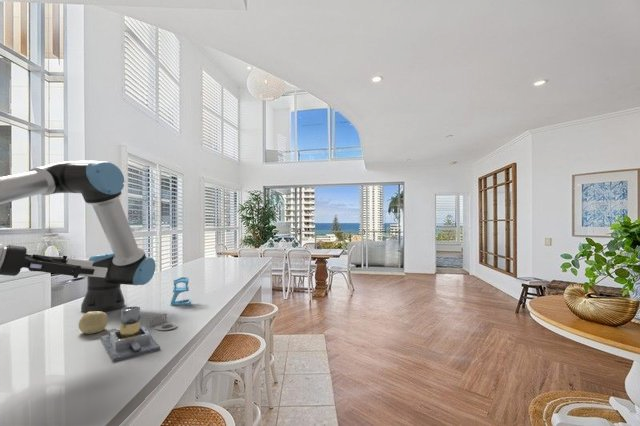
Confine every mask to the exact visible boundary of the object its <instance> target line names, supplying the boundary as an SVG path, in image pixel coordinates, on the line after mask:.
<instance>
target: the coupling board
mask: <svg viewBox="0 0 640 426" xmlns="http://www.w3.org/2000/svg"><path fill="white" fill-rule="evenodd" d="M100 340H101V342H102V345H103V346H104V348H105V351H106V352H107V355H108V356H109V358H110V360H111V362H112V363H115V362H119V361H123V360H126V359H131V358H134V357H137V356H141V355H145V354H149V353H154V352H157V351H161V345H159V343H158V342H157V341H156V340H155V339H154V338H153V337H152V336H151V333H150V332H149V331H148V330H147V329H146V328H145V326H143V325H139V335H138V336H133V337H128V338H124V339H120V329H117V328H112V329H109V330H108V334H106V335H101V336H100Z"/></svg>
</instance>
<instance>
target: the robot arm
mask: <svg viewBox="0 0 640 426" xmlns="http://www.w3.org/2000/svg"><path fill="white" fill-rule="evenodd" d="M124 183H125V177H124V173H123V172H122V171H121V169H120V168H119V167H118V166H117V165H116V164H114V163H112V162H110V161H105V160H103V161H102V160H66V161H60V162H56V163H52V164H47V165H43V166H37V167H32V168H31V169H30V170H29V171H27V172H22V173H16V174H11V175H6V176H0V205H2V204H6V203H9V202H14V201H18V200H22V199H25V198H30V197H34V196H37V195H41V196H50V195H54V194H68V193H69V194H81V195H82V199H83V200H84V202H85V203H86V204H88V205H91V206H92V208H93V210H94V212H95V214H96V217H97V219H98V222H99V224H100V226H101V228H102V230H103V233H104V235H105V237H106V239H107V242H108V243H109V246H110V248H111V251H112V253H111V252H110V253H100V254H95V255H94V254H93V255H92V256H90V257H89V258H88V260H84V259H76V258H68V255H62V256H50V255H41V254H29V253H27V252H28V251H27V247H25V246H20V245H13V244H12V245H11V244H8V245H6V246H5V245H4V243H0V276H9V277H10V276H12V277H16V276H18V275H19V274H20V272H21V270H22V269H23V268H25V269H28V271H30V272H39V273H49V274H55V275H63V276H71V277H73V279H79V278H78V277H79V276H82V277H87V280H86V281H87V284H86V285H87V286H86V287H87V288H86V289H87V290H86V292H85V295H84V298H83V299H82V300H83V301H82V302H81V306H80V310H81V312H83V313H87V312H90V311H101V312H104V313H106V312H110V311H115V310H118V309H120V308H121V309H122V308H123V307H124V306H125V304H126V302H125V297H124V294H123V292H122V289H121V288H122V287H121V285H129V286H144V285H147V284H148V283H149V282H150V281H151V280H152V279H153V277H154V276H155V273H156V267H157V265H156V261H155V259H154V258H153V257H150V256H148V257H147V255H146V253H145V250H144V249H142V248H140V247H139V246H138V244H137V241H136V238H135V235H134V234H133V231H132V229H131V226H130V223H129V221H128V218H127V216H126V213H125V210H124V207H123V205H122V203H121V199H120V197H121V195H122V191H123V189H124V187H125V184H124Z"/></svg>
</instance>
